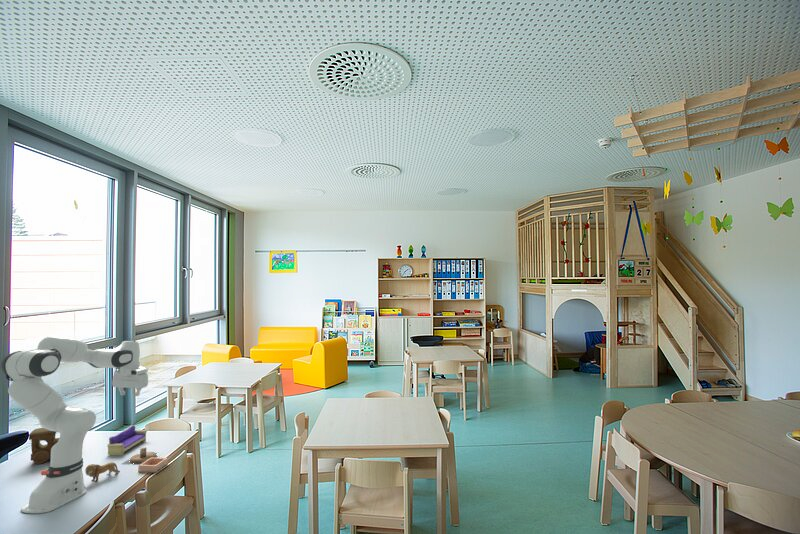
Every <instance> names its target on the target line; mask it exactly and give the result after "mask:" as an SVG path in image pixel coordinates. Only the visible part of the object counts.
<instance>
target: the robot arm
mask: <svg viewBox="0 0 800 534" xmlns="http://www.w3.org/2000/svg"><path fill="white" fill-rule="evenodd" d="M140 355H141V351H140V344H139V342H138V341H136V340H124V341H122V342H121V344H120V345H118V346H117V347H115V348H96V349H89V346H88V344H87V342H86V341H83V340H80V339H78V338H73V337H68V336H61V335H50V336H47V337H43V338H42V339H41V341H39V343H38V345H37V348H36V349H34V350H33V349H31V350H29V349H28V350H18V351H13V352H10V353H9V354H7V355H6V356H5V357H4V358H3V359H2V360H1V363H0V369H1V371H2V372H3V374H4V375H5V378H6V380H7V381H10V382H12V383H10V384H9V386H8V389H7V393H8V395H9V396H10V398H12V400H13V401H14V402H15V403H16V404H17V405H18V406H20V407H21V408H23V409H24V410H25V411H27V412H28V413H30V414H31V415H33V416H34V417H35V418H36V419H37V420H38V423H39V426H40V428H45V429H47V430H49V431H55V432H56V433H59V437H58V438H59V440H58V442H57V443H56V444H55V445H54V446H53V447H52V448H51V457H50V463H49V465H48V468H47V469H42V470H41V472H40V475H41V476H45V477H44V478H43V479H42V481H40V483H39V484H38V485H37V486H36V487H35V488H34V489H33V491H31V494H30V496H29V499H28V502H27V503H26V504H24V505H23V506H22V507H21V508H20V511H21V513H26V514H42V513H50V512H52V511H54V510H56V509H58V508H60V507H62V506H63V505H66V504H67V503H70V502H72V501H73V500H75V499H77V498H80V497H81V496H83V495H85V494H86V493H87V491H86V485H85V481H84V473H83V467H84V458H83V448H84V447H83V445H84V440H85V438H86V435H87V433H88V432H89V431H90V430H91V429H93V427H94V426H95V424H96V421H97V415H96V413H95V412H94V411H92V410H89V409H87V408H83V407H76V406H75V407H74V406H71V405H68V404H66V403H65V402H64V396H63V395H61V394H60V393H59V392H58V391H57V390H56V389H54V388H53V387H51V386H50V385H49V384H47V383H45V382H44V380H43V378H42V377H46V376H50V375H52V374H54V373H55V372H56V371H57V370H58V368H59V367H60V365H61V362H62V363H79V362H83V363H87V364H89V365H90V367H92V368H95V369H102V368H105V369H106V368H107V369H108V368H109V369H116V370H115V371H114V372H113V377H112V380H111V381H112V383H111V385H112V387H113V388H117V389H118V391H119V393H120V396H125V395H126V390H124V388H128V389H129V388H130V389H135V390H136V391H135V392H134V397H139V396H140V392H141V391H142V389H145V388H147V387H148V385H149V375H148V370H149V369H148V368H146V367H144V366H142V365H141V363H140ZM118 368H119V369H118Z"/></svg>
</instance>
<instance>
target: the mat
mask: <svg viewBox="0 0 800 534" xmlns="http://www.w3.org/2000/svg"><path fill="white" fill-rule="evenodd" d="M155 453H156V454H157V453H158V452H155ZM157 457H158V456H157V455H156V457H155V458H157ZM158 458H159V457H158ZM129 461H130V460H129V459H126V461H124V462H122V463H121V465H130V464H133V463H130V462H129ZM140 464H142V463H138V464H133V466H135V465H137V466H139V465H140Z"/></svg>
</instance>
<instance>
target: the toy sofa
mask: <svg viewBox="0 0 800 534" xmlns="http://www.w3.org/2000/svg"><path fill="white" fill-rule="evenodd" d="M108 440H109V441H108V442H109V443H108V444H107V445H106V446H107V456H108V455H110V456H124V455H125V454H124V453H125V452H126V451H128V450H130V449H132V448H133V447H134V446H136V445H138V444H140V443H142V442H141V441H145V442H146V440H147V430H146V429H138V430H137V429H136V426H135V425H132V424H131V425H130V426H129V427H128V428H125V429H124V430H122V431H121V432H119V433H117V434H115V435H112V436H109V438H108Z"/></svg>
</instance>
